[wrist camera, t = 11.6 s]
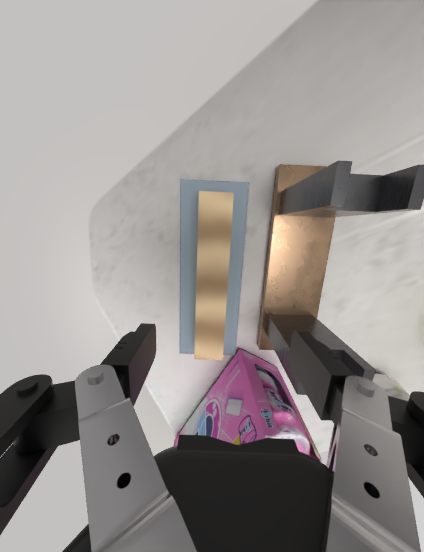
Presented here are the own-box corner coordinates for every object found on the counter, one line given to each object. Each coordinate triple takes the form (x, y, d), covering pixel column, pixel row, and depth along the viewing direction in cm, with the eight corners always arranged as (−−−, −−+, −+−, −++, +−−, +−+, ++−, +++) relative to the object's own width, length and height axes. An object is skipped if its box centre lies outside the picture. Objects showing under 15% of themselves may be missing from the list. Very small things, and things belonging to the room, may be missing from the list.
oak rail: (200, 196, 26) (198, 190, 22) (230, 197, 26) (233, 192, 23) (196, 343, 32) (194, 359, 28) (221, 343, 32) (222, 360, 28)
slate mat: (181, 179, 26) (180, 179, 26) (248, 183, 26) (249, 182, 26) (180, 351, 32) (179, 353, 32) (234, 354, 32) (235, 355, 32)
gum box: (243, 340, 31) (272, 424, 18) (282, 360, 33) (336, 452, 20) (173, 440, 36) (156, 563, 23) (210, 454, 38) (214, 577, 25)
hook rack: (276, 167, 26) (338, 110, 13) (336, 170, 26) (455, 116, 13) (257, 343, 32) (286, 419, 19) (306, 345, 32) (367, 422, 20)
